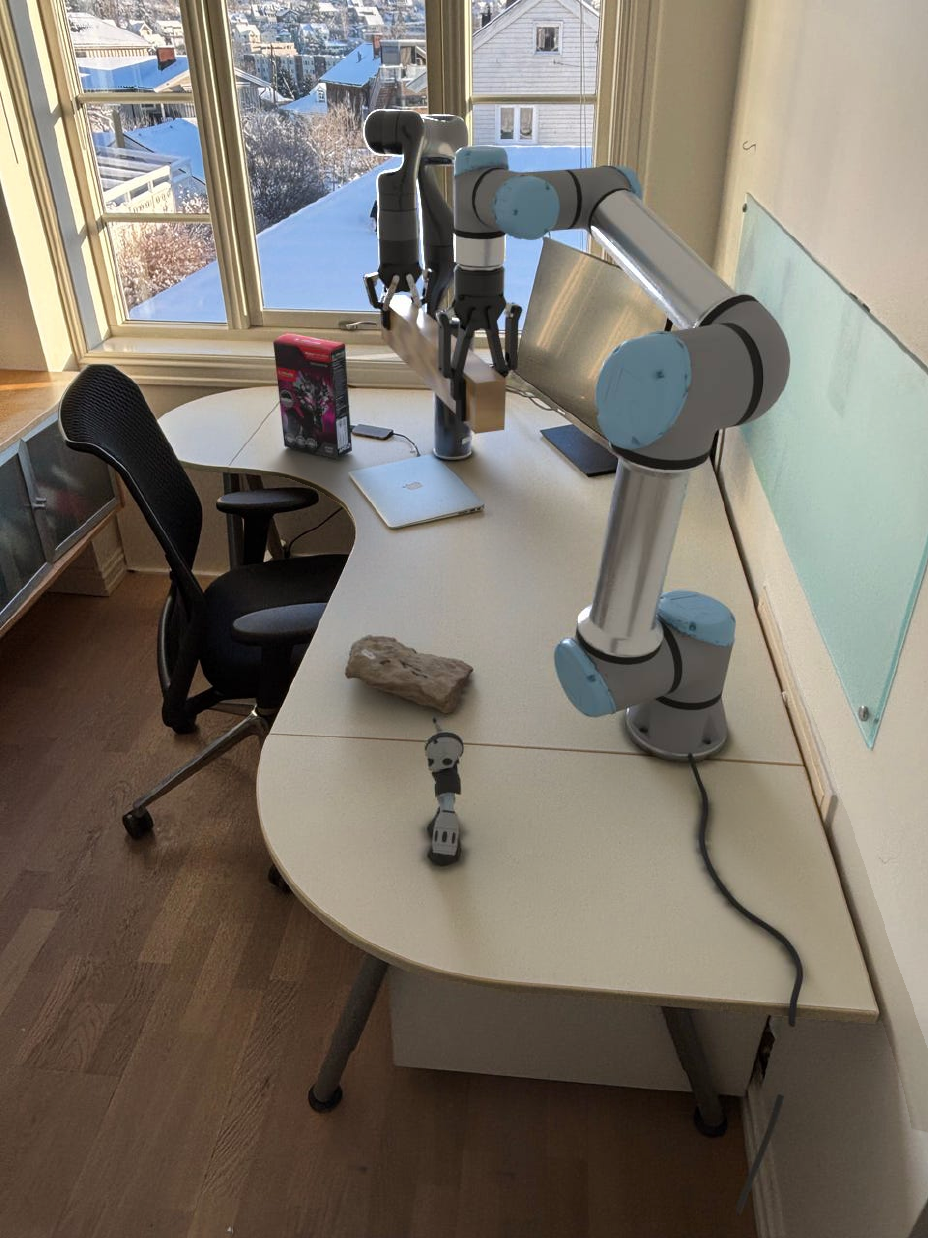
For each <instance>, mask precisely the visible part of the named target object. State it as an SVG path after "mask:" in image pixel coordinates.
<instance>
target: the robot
mask: <svg viewBox="0 0 928 1238" xmlns="http://www.w3.org/2000/svg"><path fill="white" fill-rule="evenodd" d="M432 723H433V725H434V728H435V731H436V733H434V734H432V735H431V736H430V737H429V738H428V739H426V742H425V745H424V747H423V749H424V752H425V753H424V755H425V757H426V758H427V769H428V770H429V771H430V772H431V776H432V779H433V780H434V782H435V783H434V797H435V798H436V800H437V803H438V805H439V806H438V808H437V810H436V811H435V814H434V817H433V819H432V820H431V821H430V822H429V823H428V825H427V827H426V830H427V833H428V835H429V837H430V838H432V841H431V846H430V847H429V850H428V852H427V858H428V860H430V861H431V862H432V864H434V865H437V866H441V867H442V866H448V865H450V864H453V863H455V862H457V861H459V860H460V856H461V854H462V846H461V841H460V837H459V836H460V833H461V830H460V820H459V815H458V813H456V811H455V807H454V805H455V803H456V795H457V796H459V795H462V782H461V781H462V780H461V776H460V774H459V769H458V768H459V767H458V765H459V764H460V758H462V755H463V754H464V749H465V746H464V745H465V744H464V741H463V739H462V738H461V737H460V736H459V734H457V733H455V732H453V731H451V730H443V729H442V727H441V725H440V723H439V721H438V720H437V718H436V717H433V718H432Z"/></svg>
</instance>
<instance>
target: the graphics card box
mask: <svg viewBox="0 0 928 1238" xmlns="http://www.w3.org/2000/svg"><path fill="white" fill-rule="evenodd" d="M272 344H273V345H272V346H273V349H274V350H273V353H274V361H275V362H274V363H275V371H276V380H277V381H276V382H277V390H278V398H279V399H278V400H279V408H280V417H281V418H280V419H281V428H282V435H283V436H282V437H283V446H284V447H285V448H289V449H294V450H298V451H302V452H306V453H311V454H315V455H319V456H323V457H328V458H333V459H336V460H338V459H339V460H340V458H342V457H344V456H346V455H347V454H349V453H350V452H352V451H353V446H352V429H351V415H350V402H349V401H350V400H349V385H348V370H347V356H346V343H345V342H339V341H338V342H337V341H333V340H327V339H321V338H317V337H311V336H305V335H300V334H295V333H289V332H288V333H285V334H282V335H280V336H279V337H277V338H276V339H274V340H273V342H272Z"/></svg>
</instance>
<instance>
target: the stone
mask: <svg viewBox="0 0 928 1238" xmlns="http://www.w3.org/2000/svg"><path fill="white" fill-rule="evenodd" d="M348 656H349V657H348V660H347V665H346V667H345V672H344V675H345V677H346V678H347V679H358V680H361V681H362V682H364V683H365V685H366V686H367V687H369V688H372V689H379V690H380V691H381V692H385V693H389V694H390V693H391V694H392V693H393V694H395V695H396V696H399V697H401V698H405V699H407V700H408V701H409V700H410V701H412V702H414V703H415V704H418V705H420V706H426V707H433V708H434V709H436V710H438V711H440V712H442V713H445V714H449V713H453V712H454V710H456V708H457V707H458V704H459V702H460V699H461V693H462V691H463V690H464V687H465V686H466V683H467V682H468V680H469V679H470V676H471V675H472V673H473V672H474V668H473V667H472V666H471V665H470V664H468V663H467V662H465V661H463V660H460V659H457V658H451V657H450V658H449V657H444V656H437V655H435V654H433V653H422V652H418V651H417V650H416V649H415V648H413V647H407V646H406V645H404V644H403V643H402V642H399V641H398V640H397V638H395V637H390V636H385V635H379V636H378V635H371V634H368V635H366V636H363V637H361V638H360V639H358V640H356V641H354V642H353V644H351V647H350V650H349V652H348Z"/></svg>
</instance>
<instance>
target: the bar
mask: <svg viewBox="0 0 928 1238" xmlns="http://www.w3.org/2000/svg"><path fill="white" fill-rule="evenodd" d="M380 299H381V296H380V297H379V300H380ZM388 310H389V311H390V328H391V329H390V330H389V331H386V330H385V329H384V327H383V326H382V325H381V324H380V330H381V331H380V333H381V334H380V335H381V340H382V341H383V342H384V343H385V344H386V345H387V346H388V347H389V348H390V349H391V350H392V352H394V353H395V354H396V355H397V356H398V357H399V358H400V360H401V361H403V363H404V364H405V365H407V366H408V367H409V368H410V369H411V371H413V372H414V373H415V375H416V376H418V378H419V379H420V380H422V382H423V383H424V384H425V385H426V386H427V387H428V388H429V389H430V390H431V391H432V393H433V394H434V393H435V394H436V395H437V396H438V397H439V398H440V399H441V400H442V401H443V402H444V403H445V404H446V405H447V406H448V407H449V408H450V409H451V410H452V411H453V412H454V413H455V414H456V400H455V401H454V400H453V399H452V398H451V396H450V379H449V378H447V379H446V378H444V377H443V376H442V375H441V374H440V373H439V372H438V323H437V322H436V321H435V320H434V319H433V318H431V317H430V316H429V315H428V314H427V313H426V311H425V310H423V309H422V307H421V308H419V307H418V306H417V305H416V304H415V303H413V302H412V301H411V298H410V297H408V296H406V294H405V295H404V294H401V295H394V296H393V299H392V300H391V303H390V306H389V309H388ZM456 341H457V338H455V337H454V336H453V335H452V334H451V362H452V358H453V354H454V350H455V346H456ZM489 365H490V364H488V363H487V362H485V360H483V359H482V358H481V357H480V356H478V355H477V354H476V353H475V352H474V353H473V352H472V351H471V350H470V349H469V350H468V354H467V358H466V362H465V366H464V370H463V374H462V378H463V379H464V380H465V381H466V421H463V422H464V423H465V424H466V425H467V426H468V427H469V428H470V429H471V432H473V433H474V435H478V434H485V433H493V432H498V431H499V432H500V431H505V427H506V426H505V423H506V399H507V398H506V395H507V379H506V377H505V378H503V377H502V376H501V375H500V374H499V373H497V372H496V371H495V370H494V369H493V368H491V367H490V366H489Z"/></svg>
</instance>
